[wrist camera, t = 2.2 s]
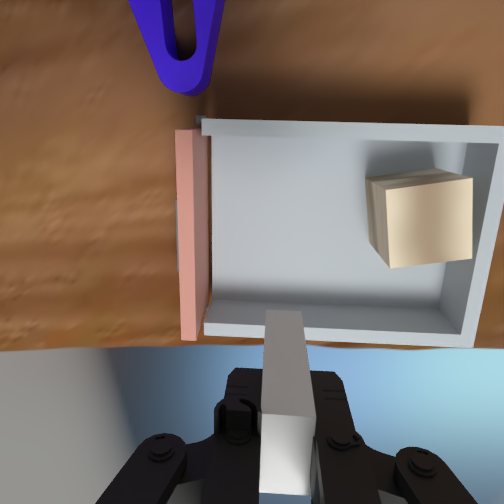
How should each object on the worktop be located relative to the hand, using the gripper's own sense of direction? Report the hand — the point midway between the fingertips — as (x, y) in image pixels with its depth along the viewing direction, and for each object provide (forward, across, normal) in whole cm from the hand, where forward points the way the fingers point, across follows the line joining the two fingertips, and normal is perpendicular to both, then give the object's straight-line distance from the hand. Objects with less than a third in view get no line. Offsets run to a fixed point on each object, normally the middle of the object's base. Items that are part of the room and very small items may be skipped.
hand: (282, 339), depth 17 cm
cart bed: (+24, +5, 0) cm, 25 cm away
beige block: (+21, +11, +2) cm, 24 cm away
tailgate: (+18, -8, 0) cm, 19 cm away
